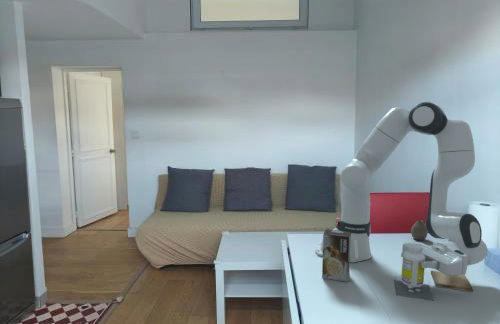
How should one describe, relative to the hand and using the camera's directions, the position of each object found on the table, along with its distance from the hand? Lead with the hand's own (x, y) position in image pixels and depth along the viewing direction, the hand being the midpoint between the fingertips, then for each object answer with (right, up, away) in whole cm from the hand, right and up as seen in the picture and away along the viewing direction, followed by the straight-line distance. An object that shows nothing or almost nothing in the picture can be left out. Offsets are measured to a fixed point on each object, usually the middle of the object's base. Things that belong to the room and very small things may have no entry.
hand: (411, 259), depth 119 cm
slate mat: (+1, -10, +1) cm, 10 cm away
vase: (+26, -4, +52) cm, 58 cm away
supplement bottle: (+1, -8, +1) cm, 8 cm away
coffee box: (-22, -9, +11) cm, 26 cm away
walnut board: (+17, -10, +8) cm, 21 cm away
